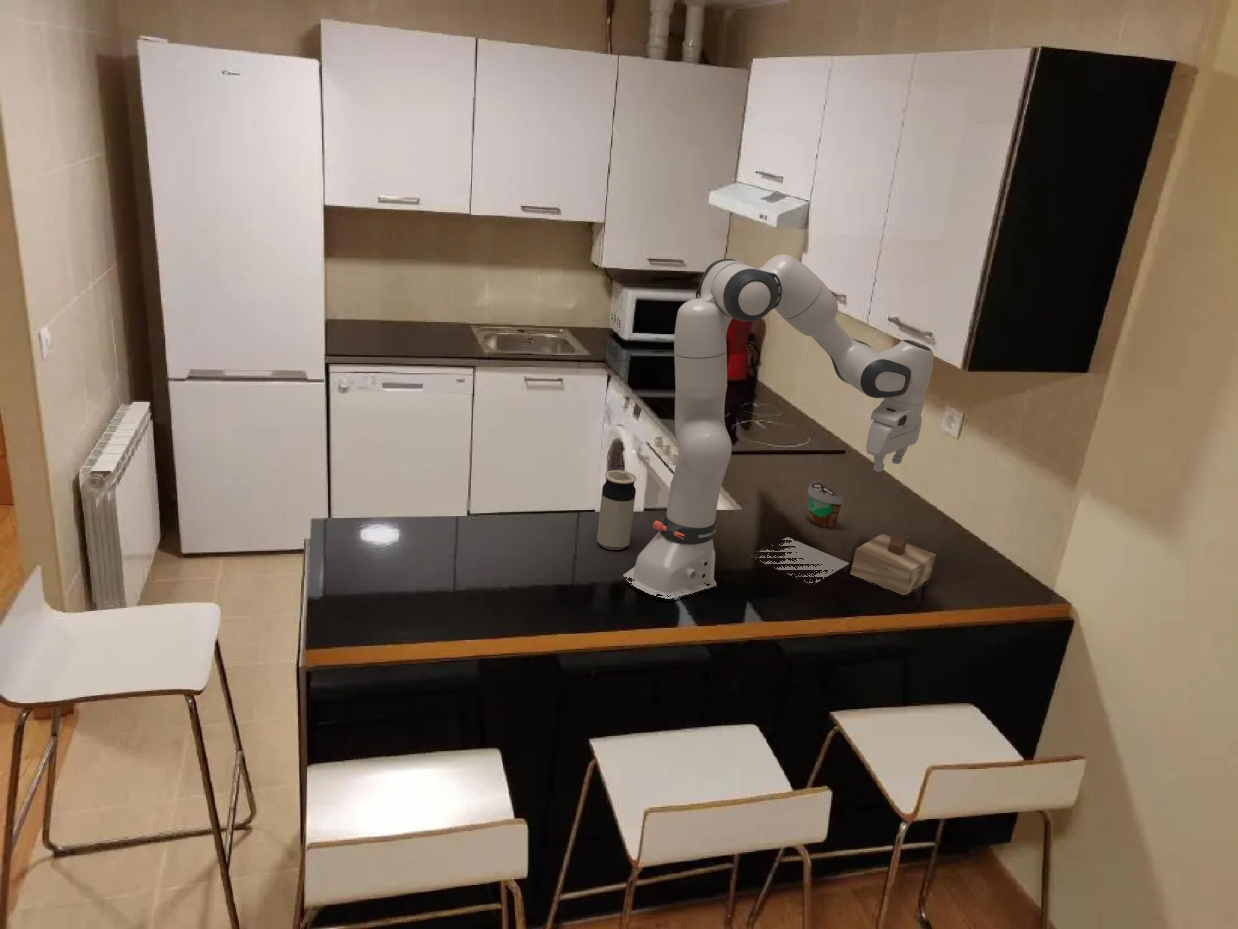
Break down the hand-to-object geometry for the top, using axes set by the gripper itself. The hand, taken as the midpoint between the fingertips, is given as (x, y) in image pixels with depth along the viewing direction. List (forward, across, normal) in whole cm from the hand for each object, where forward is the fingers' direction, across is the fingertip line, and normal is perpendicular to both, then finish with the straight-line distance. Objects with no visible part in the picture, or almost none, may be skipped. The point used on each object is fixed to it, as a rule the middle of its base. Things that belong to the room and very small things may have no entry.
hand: (887, 466), depth 216 cm
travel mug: (+29, +41, -46) cm, 68 cm away
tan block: (+27, -2, +7) cm, 28 cm away
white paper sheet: (+28, +10, -12) cm, 32 cm away
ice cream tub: (+28, -15, -22) cm, 39 cm away
